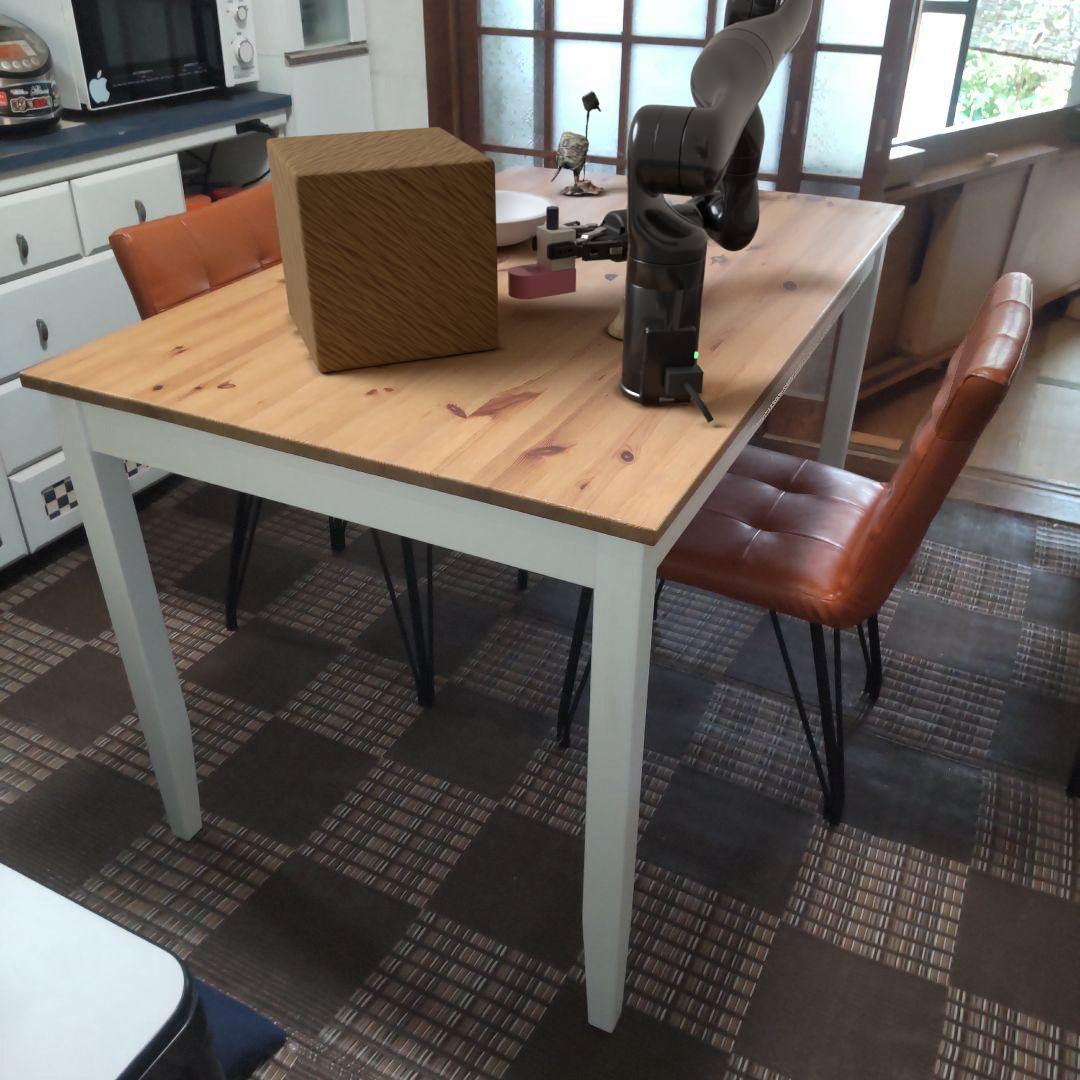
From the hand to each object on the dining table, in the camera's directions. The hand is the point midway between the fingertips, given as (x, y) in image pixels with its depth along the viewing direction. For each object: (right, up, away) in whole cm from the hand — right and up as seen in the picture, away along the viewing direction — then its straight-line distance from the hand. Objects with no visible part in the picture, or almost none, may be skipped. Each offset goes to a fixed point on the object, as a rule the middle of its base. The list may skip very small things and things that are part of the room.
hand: (540, 247), depth 147 cm
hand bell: (+14, -13, -2) cm, 19 cm away
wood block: (-22, -13, -2) cm, 25 cm away
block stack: (0, -6, +3) cm, 7 cm away
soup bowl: (-9, +12, +38) cm, 40 cm away
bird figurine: (+8, +32, +71) cm, 78 cm away
